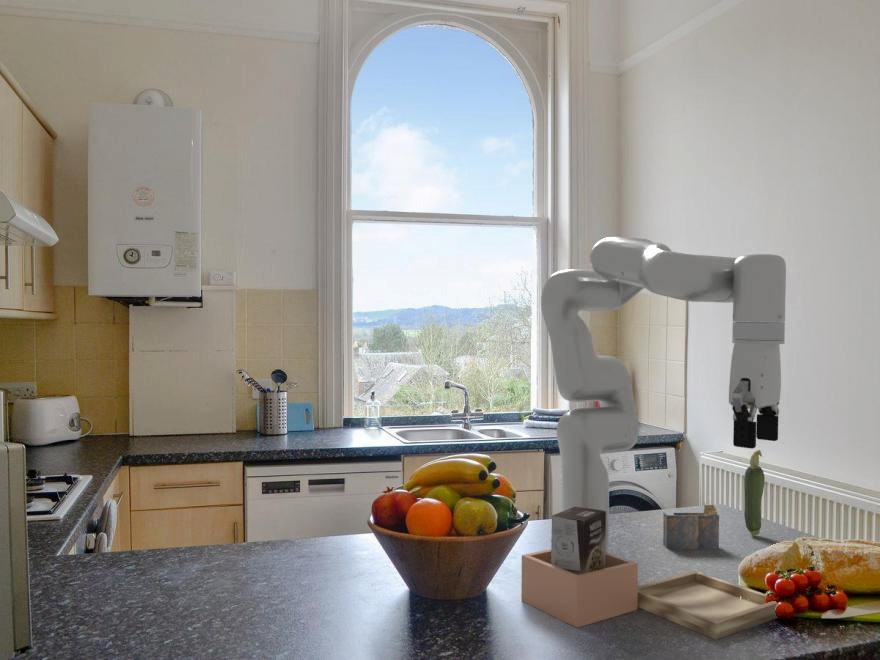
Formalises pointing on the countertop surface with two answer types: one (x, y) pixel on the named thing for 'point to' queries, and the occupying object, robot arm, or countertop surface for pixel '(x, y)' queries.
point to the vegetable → (753, 494)
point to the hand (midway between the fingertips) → (756, 443)
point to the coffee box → (579, 540)
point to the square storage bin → (580, 589)
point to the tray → (706, 604)
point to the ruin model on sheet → (692, 530)
